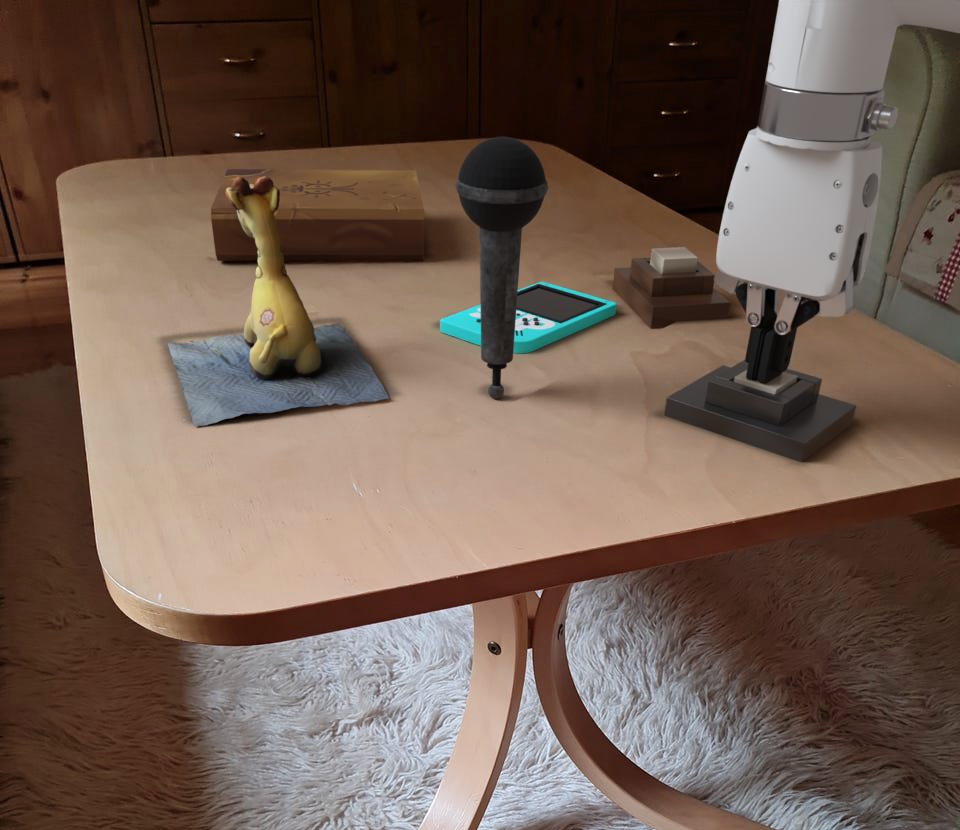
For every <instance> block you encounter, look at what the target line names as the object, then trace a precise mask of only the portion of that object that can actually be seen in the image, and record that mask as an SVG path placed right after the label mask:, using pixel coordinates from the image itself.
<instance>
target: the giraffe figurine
mask: <svg viewBox="0 0 960 830" xmlns="http://www.w3.org/2000/svg"><path fill="white" fill-rule="evenodd" d="M225 193H226V197H227V199H228V200H229V202H230V203H231V205H232V206H233V207H234V208H235V209H236V210H237V214H238V218H239V221H240V223H241V225H242V228H243V230H244V231H245V233H246V234H247V235H248V236H250V237H252V238H255V243H256V246H257V248H258V261H257V265H258V266H257V267H256V269H255V277H256V278H255V280H254V283H253V288H252V294H251V305H250V307H251V308H250V312H249V314H248V316H247V319H246V321H245V324H244V326H243V327H244V328H243V333H240V334H229V335H224V336H221V335H215V336H213V337H210V338H207V339H200V340H195V341H194V340H190V341H188V342H183V343H182V342H171V341H170V342H169V341H166V343H167V345H168V350H169V353H170V357H171V360H172V363H173V365H174V368H175V371H176V374H177V377H178V380H179V383H180V386H181V390H182V393H183V395H184V399H185V401H186V405H187V408H188V411H189V414H190V418H191V420H192V425H193V427H203V426H208V425H212V424H216V423H218V422H220V421H223V420H226V419H234V418H235V417H239V416H241V415H244V414H245V415H246V414H248V415H251V414H271V413H276V412H282V411H285V410H286V411H287V410H289V409H295V408H304V407H307V408H311V407H321V406H328V407H330V406H332V405H334V404H336V405H340V406H349V405H352V404H357V403H361V402H362V403H363V402H364V403H367V402H369V403H370V402H372V403H373V402H377V401H383V400H388V399H390V396H389V394H388V393H387V391H386V389H385V388H384V386H383V384H382V383H381V381H380V379H379V378H378V376H377V375H376V373H375V371H374V369H373V367H372V366H371V364H370V363H369V361H368V360H367V358H366V357H365V355H364V353H363V352H362V351H361V349H360V348H359V346H358V345H357V344H356V343H355V342H354V341H353V338H352V337H351V336H350V335H349V334H348V332H347V331H345V329H344V328H343V327H342V326H341V325H340V323H338V322H337V323H332V324H328V325H326V324H324V325H321V326H316V327H315V326H314V324H313V322H312V320H311V319H310V317H309V315H308V312H307V309H306V308H305V305H304V303H303V301H302V298H301V297H300V295H299V293H298V291H297V288H296V286H295V284H294V283H293V281H292V279H291V277H290V276H289V275H288V271H287V268H286V265H285V264H284V263H285V261H284V258H283V254H282V246H281V239H280V236H279V233H278V231H277V227H276V221H275V216H274V212H275V211H276V210H277V209H278V207H279V201H280V190H279V189H278V188H276V187H274V185H273V181H272V180H271V179H270V178H269V177H267V176H263V177H261V178H258V179H257V181H256V182H255V184H254V185H253V184H249V183H248V181H247V180H245V179H244V178H242V177H237V178H235V179H234V181H233V187H232V188H227V189H226V191H225Z"/></svg>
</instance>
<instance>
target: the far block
mask: <svg viewBox="0 0 960 830" xmlns="http://www.w3.org/2000/svg"><path fill="white" fill-rule="evenodd" d="M650 259H651V256H650V257H634V258H633V257H632V258H631V263H630V267H615V268H614V271H613V280H612V290H613V291H614V292H615V293H616V294H617V295H618V296H619V297H620V299H622V300H623V302H624V303H626V305H627V306H628V307H629V308H630V309H631V310H632V312H634V313H635V314H636V315H637V317H639V318H640V320H642V322H643V323H644V324H645V325H646V326H647V327H648V328H649V329H650V330H656V329H665V328H668V327H669V326H671V325H673V324H675V323H677V322H689V321H690V322H691V321H708V320H724V319H725V320H726V319H729V315H730V309H731V301H730V300H729V299H727V298H726V297H725V296H724V295H723V294H721V293H720V292H719V291H718V290H717V289H715V287H714V286H715V283H714V276H715V273H713V272H712V271H711V270H709V268H707V267H706V266H705V265H703V264H702V263H701V262H700V261H699V260H698V261H697V268H696V272H692V273H673V274H660V273H658V272H657V271H656V270H655V269H654V268H653V267H652V266H651V265H650Z"/></svg>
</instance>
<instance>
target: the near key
mask: <svg viewBox="0 0 960 830" xmlns="http://www.w3.org/2000/svg"><path fill="white" fill-rule="evenodd" d="M746 373H747V370H746V371H744V372H742V373H741V374H739V375H737V376H736V377H735V378H734V382H736V383H739V384H742V385H746V386H749V387H752V388H755V389H759V390H762V391H765V392H768V393H772V394H775V395H779V394H780V393H782V392H783V391H785V390H786V389H788V388H789V387H791V386H793V385H794V384H796V381H797V377H798V376H796V375H792V374H789V373H786V372H783V373H782V374H781V375H779V376H778V377H776V378H774V379H773V380H771V381H770V382H768V383H766V384H763V383H760V382H759V381H758V380H757V379H754V380H750V379H747V378H746Z"/></svg>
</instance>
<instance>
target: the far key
mask: <svg viewBox="0 0 960 830" xmlns="http://www.w3.org/2000/svg"><path fill="white" fill-rule="evenodd" d="M650 257H651V259H650V265H651V266H652V267H653V268H654V269H655V270H656V271H657V272H658V273H660V274H673V273H692V272H696V268H697V261H698V262H699V258H698V256H697V255H695V254H694V253H693V252H692V251H690V249H688V248H687V247H685V246H681V247H679V246H678V247H677V246H676V247H658V248H657V247H656V248H651V251H650Z"/></svg>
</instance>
